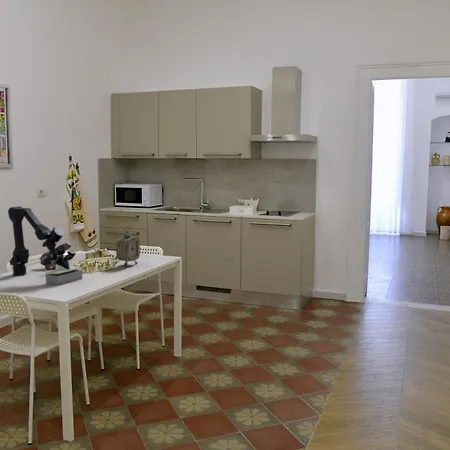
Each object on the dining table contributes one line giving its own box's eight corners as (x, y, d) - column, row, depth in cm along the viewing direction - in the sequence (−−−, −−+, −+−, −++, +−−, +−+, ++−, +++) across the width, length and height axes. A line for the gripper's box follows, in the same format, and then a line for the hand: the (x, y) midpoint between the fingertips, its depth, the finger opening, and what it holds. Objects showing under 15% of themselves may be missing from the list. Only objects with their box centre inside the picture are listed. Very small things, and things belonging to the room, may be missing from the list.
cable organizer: (69, 274, 314) (68, 254, 313) (55, 272, 319) (54, 253, 317) (85, 269, 328) (85, 250, 327) (72, 268, 332) (71, 249, 331)
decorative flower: (39, 255, 322) (44, 244, 336) (35, 271, 326) (40, 260, 340) (63, 260, 325) (67, 249, 339) (60, 277, 329) (63, 265, 343)
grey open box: (46, 283, 290) (45, 274, 290) (70, 277, 306) (70, 268, 305) (57, 285, 286) (57, 276, 285) (82, 279, 301) (82, 270, 301)
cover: (45, 274, 290) (45, 272, 290) (70, 268, 305) (69, 266, 305) (57, 273, 285) (57, 272, 285) (81, 267, 300) (81, 266, 300)
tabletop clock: (128, 268, 331) (127, 227, 328) (115, 267, 334) (114, 227, 331) (140, 263, 344) (139, 225, 341) (128, 262, 348) (127, 224, 345)
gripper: (47, 240, 286) (63, 262, 282) (73, 235, 302) (88, 256, 298) (37, 253, 291) (53, 275, 287) (63, 248, 307) (78, 269, 303)
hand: (68, 269), depth 293 cm, fingers closed, pressing on cover
